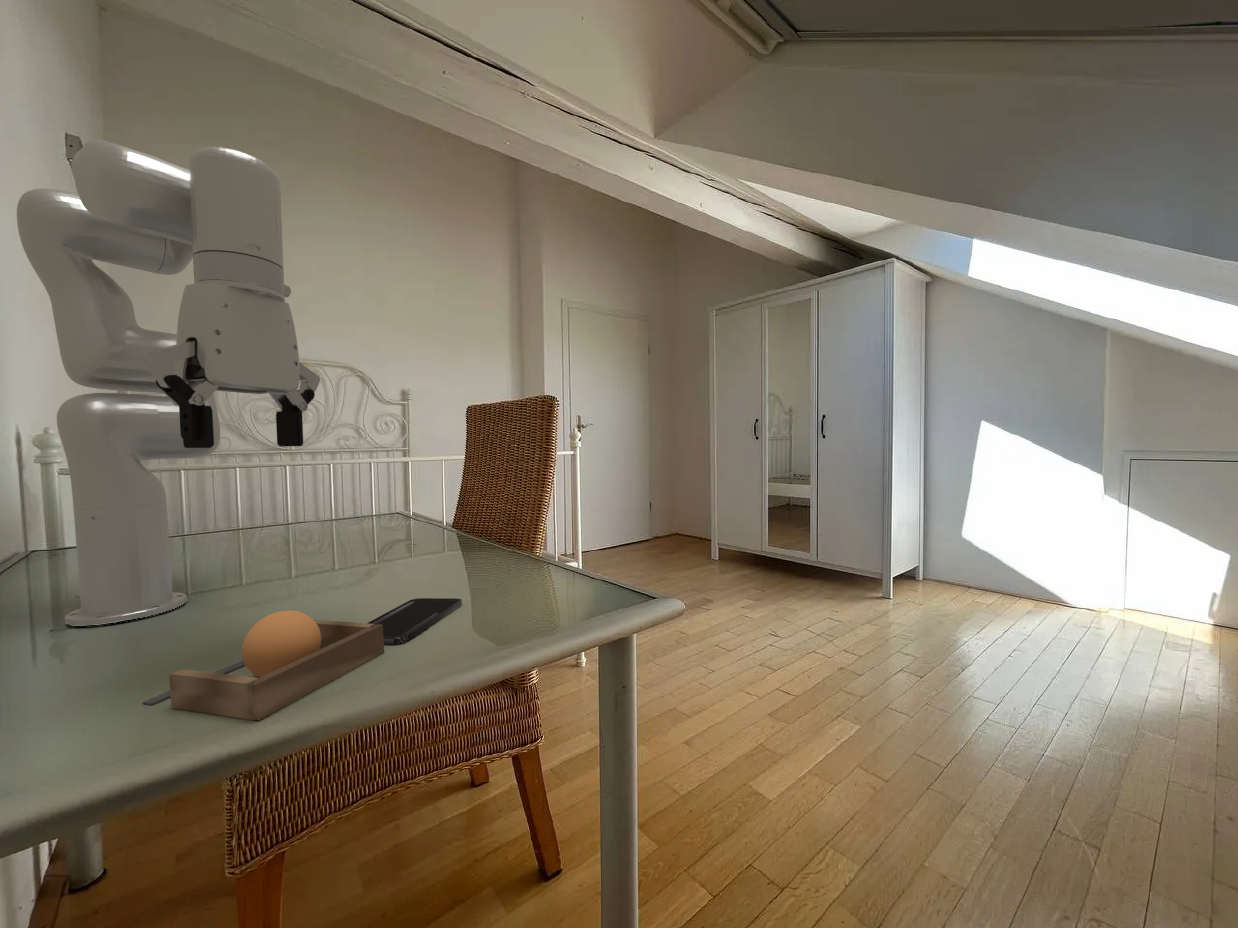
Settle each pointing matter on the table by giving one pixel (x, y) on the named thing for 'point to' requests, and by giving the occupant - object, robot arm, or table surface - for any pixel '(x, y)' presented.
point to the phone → (414, 618)
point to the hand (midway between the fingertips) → (248, 446)
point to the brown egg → (279, 641)
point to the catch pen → (278, 675)
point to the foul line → (222, 671)
